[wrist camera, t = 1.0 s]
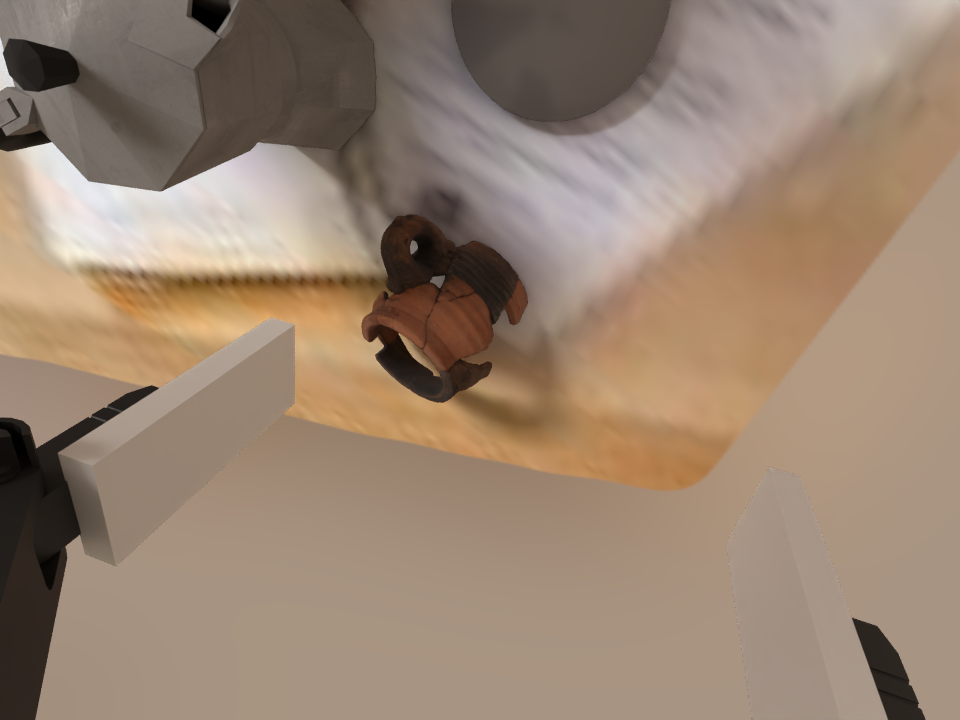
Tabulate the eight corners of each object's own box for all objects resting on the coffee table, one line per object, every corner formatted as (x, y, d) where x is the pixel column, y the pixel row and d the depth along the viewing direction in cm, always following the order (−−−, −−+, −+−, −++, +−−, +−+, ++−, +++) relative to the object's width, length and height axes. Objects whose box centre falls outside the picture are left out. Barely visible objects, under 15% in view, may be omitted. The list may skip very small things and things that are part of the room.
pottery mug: (556, 337, 37) (487, 425, 33) (459, 326, 44) (392, 399, 40) (486, 173, 31) (390, 259, 27) (384, 189, 37) (295, 260, 33)
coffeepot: (373, -68, 30) (60, -229, 14) (433, 116, 33) (232, 149, 17) (171, 42, 35) (-207, 14, 20) (238, 189, 39) (-41, 263, 23)
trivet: (421, 36, 31) (414, 34, 30) (541, -193, 25) (537, -202, 25) (572, 162, 32) (570, 164, 31) (723, -34, 26) (725, -37, 25)
